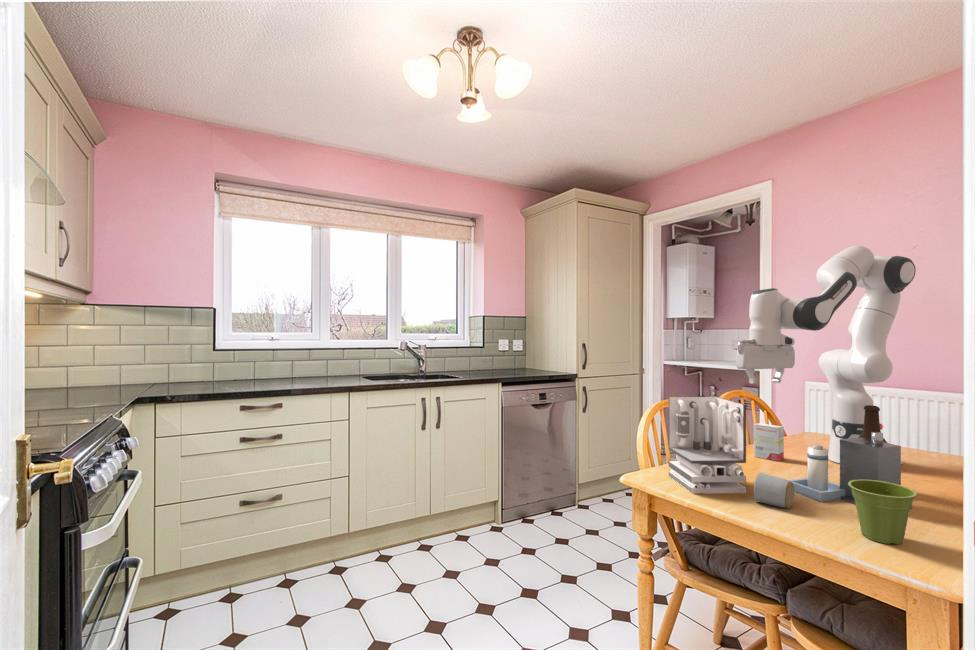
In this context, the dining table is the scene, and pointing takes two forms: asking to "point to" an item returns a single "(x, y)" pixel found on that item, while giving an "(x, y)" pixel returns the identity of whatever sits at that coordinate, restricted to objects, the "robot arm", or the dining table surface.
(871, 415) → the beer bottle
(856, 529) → the dining table surface
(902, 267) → the robot arm
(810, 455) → the cylinder
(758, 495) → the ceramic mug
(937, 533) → the dining table surface
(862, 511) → the plant pot
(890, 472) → the block
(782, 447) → the ink box
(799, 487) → the tray
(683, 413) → the pipe room model
